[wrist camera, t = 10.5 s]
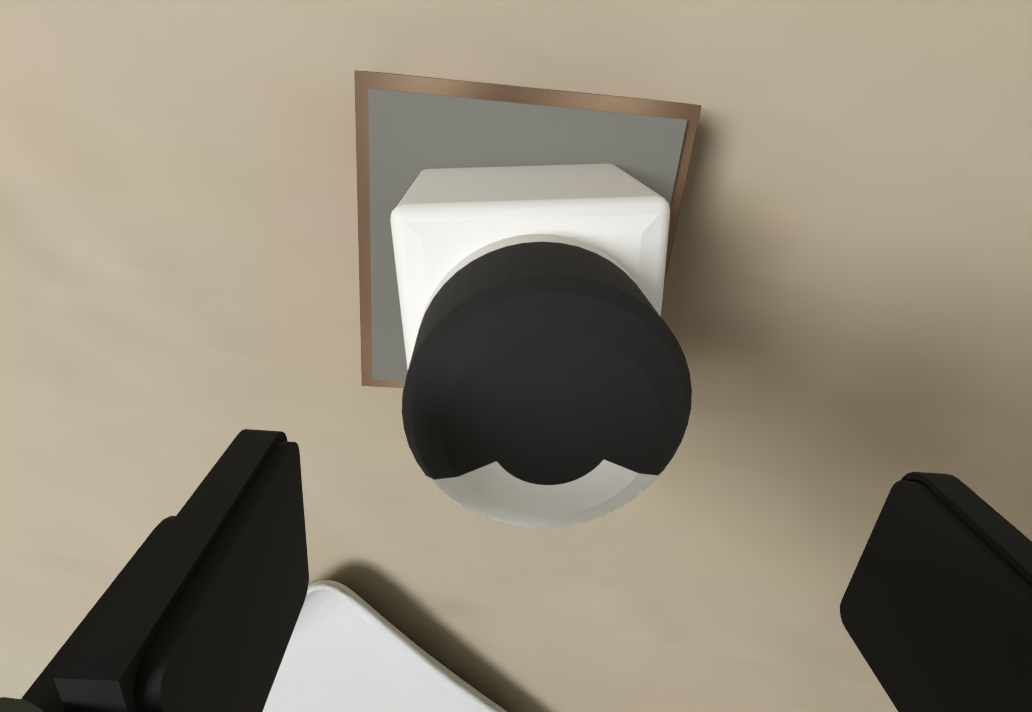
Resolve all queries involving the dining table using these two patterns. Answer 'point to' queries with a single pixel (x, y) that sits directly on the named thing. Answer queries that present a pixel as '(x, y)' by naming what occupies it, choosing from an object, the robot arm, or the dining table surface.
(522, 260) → the medicine bottle
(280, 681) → the salad plate
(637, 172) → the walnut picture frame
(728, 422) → the dining table surface
